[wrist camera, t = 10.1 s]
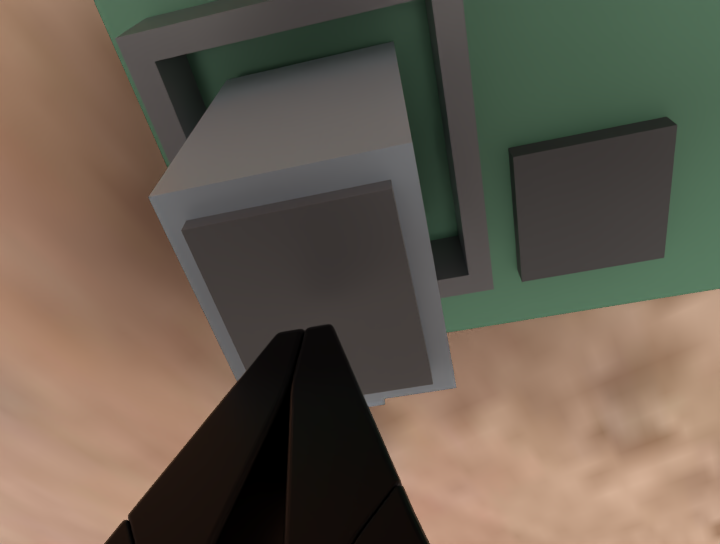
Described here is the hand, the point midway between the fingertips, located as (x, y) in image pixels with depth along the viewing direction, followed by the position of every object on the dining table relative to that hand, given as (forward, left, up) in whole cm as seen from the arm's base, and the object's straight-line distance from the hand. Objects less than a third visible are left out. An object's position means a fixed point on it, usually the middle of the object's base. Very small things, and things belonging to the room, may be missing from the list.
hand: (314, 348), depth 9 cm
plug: (0, 0, -7) cm, 7 cm away
